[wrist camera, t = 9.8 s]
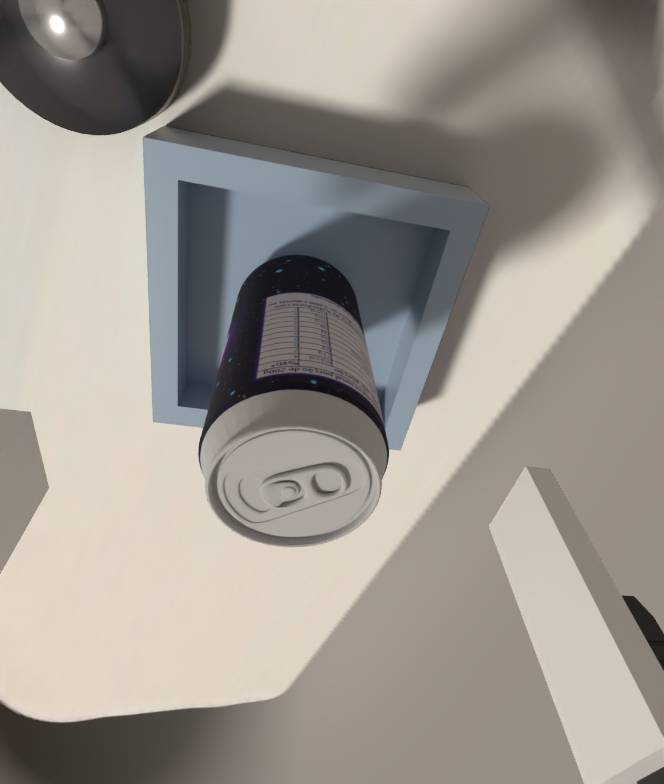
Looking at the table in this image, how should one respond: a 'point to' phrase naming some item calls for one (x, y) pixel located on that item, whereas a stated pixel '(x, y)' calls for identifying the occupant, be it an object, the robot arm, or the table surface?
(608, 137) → the table surface
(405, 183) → the tray
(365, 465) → the beverage can
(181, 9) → the grey flat rectangular frame
